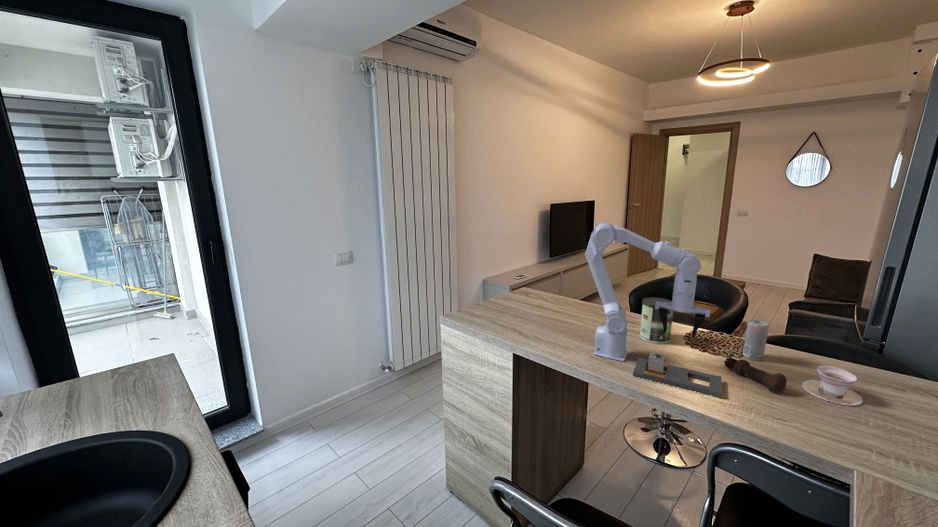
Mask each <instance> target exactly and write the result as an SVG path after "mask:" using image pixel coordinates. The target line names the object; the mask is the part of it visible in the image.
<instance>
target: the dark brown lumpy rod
mask: <svg viewBox="0 0 938 527" xmlns="http://www.w3.org/2000/svg"><path fill="white" fill-rule="evenodd" d="M724 365H725V367H727V368H728V369H730V370H733V372H734V373H735V374H736V375H738V376H741V377H744V376H746V377H749V378H750V379H753V380H755V381H756V382H759V383H762V384H763V385H765V386H766V387H767V388H768V391H769V392H771V393H773V394H780V393H782V392H784V390H785V389H786V386H787V383H788V379H787V377H786V376H785V374H782V373H780V372H778V373H773V374H772V373H768V372H766V371H764V370H761V369H759V368H757V367H755V366H752V365H751V364H750V362H749V361H748V360H745V359H735V358H733V357H726V358H725V360H724Z"/></svg>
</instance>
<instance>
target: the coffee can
mask: <svg viewBox="0 0 938 527" xmlns="http://www.w3.org/2000/svg"><path fill="white" fill-rule="evenodd" d="M656 301H658V302H672V300H671V299H667V298H663V297H655V296H651V297H643V298H642V308H641V316H640V317H641V318H640V328H639V338H641V339H642V340H643V341H645V342H648V343H651V344H655V345H658V344H659V345H662V344H669V343H670V342H671V334H672V332H671V331H672V327H673V326H672V325H673V317H674V311H671V310H668V318H667V331H666V333H665V332H664V330H663V324H662V320H661V318H660V315H659V309H655V305H656Z"/></svg>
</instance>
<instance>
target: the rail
mask: <svg viewBox="0 0 938 527" xmlns="http://www.w3.org/2000/svg"><path fill="white" fill-rule="evenodd" d="M648 361H649V359H645V358H642V357H641V358H640V357H638V359H637V362H636V364H635V366H634V369H633V372H632V377H634V376H636V377H635V378H638V377H640V378H639V379H642V378H644V379H643V380H646V379H648V380H647V381H650V380H652V381H651V382H654V381H656V382H655V383H658V382H660V383H659V384H662V383H664V384H663V385H666V384H668V385H667V386H670V385H671V386H670V387H673V386H675V387H674V388H677V387H679V389H681V388H682V389H681V390H685V389H687V390H686V391H689V390H692V391H691V392H693V391H696V392H695V393H697V392H700V393H699V394H701V393H703V394H702V395H705V394H707V395H706V396H709V395H712V396H711V397H713V396H714V398H717V397H718V398H717V399H722V396H723V382H722V381H723V380H722V379H723V378H722V376H720V375H716V374H712V373H707V372H703V371H699V370H693V369H689V368H685V367H681V366H676V365H671V364H667V363H664V371H665V375H664V374H663V375H660V374H656V373H652V372H648V370H647V369H648V368H647V367H648ZM688 378H689V379H695V380H698V381H703V382H707V383H709V385H704V384H700V383H697V382H692V381H688Z"/></svg>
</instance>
